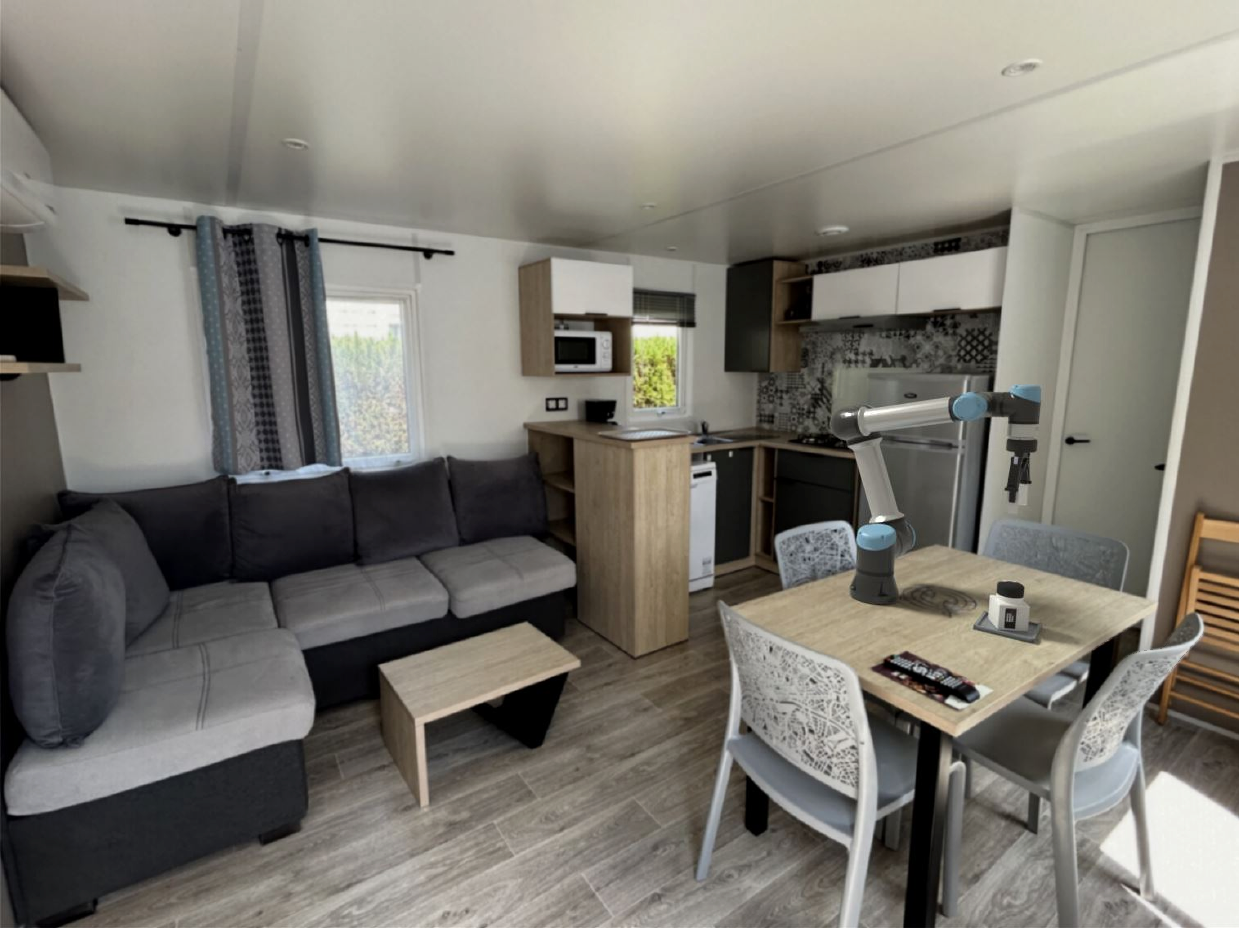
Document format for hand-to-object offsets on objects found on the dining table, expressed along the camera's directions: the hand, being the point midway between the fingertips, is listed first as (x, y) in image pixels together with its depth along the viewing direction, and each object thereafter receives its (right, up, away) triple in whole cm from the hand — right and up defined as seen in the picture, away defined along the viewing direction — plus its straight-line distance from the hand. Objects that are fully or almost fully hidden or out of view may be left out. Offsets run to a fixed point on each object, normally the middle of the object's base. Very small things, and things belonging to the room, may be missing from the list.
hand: (1016, 509), depth 174 cm
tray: (-6, -34, -5) cm, 35 cm away
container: (-6, -34, -5) cm, 34 cm away
